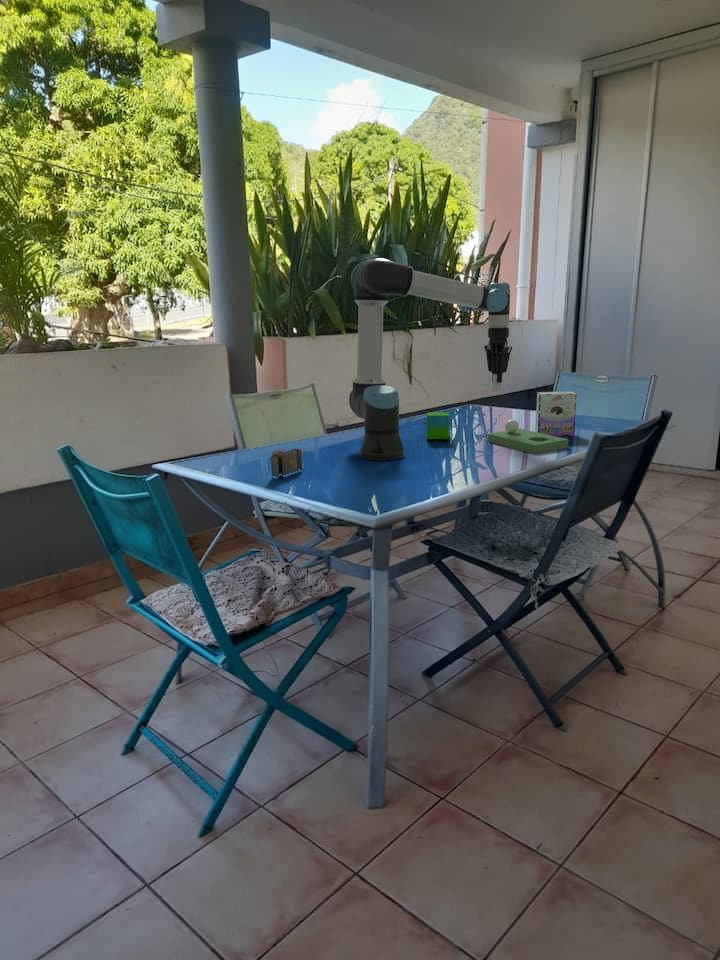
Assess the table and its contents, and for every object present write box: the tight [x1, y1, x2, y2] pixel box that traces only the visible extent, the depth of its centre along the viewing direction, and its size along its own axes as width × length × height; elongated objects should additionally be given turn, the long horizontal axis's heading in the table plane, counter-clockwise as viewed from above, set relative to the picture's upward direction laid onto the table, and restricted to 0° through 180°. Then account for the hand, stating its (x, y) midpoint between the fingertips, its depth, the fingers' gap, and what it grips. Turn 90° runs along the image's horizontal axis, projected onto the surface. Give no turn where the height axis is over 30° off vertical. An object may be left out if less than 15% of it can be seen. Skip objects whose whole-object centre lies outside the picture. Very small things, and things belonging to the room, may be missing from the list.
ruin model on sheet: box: [270, 448, 303, 478], centre depth 205 cm, size 11×3×10 cm, turn 145°
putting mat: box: [486, 428, 569, 454], centre depth 240 cm, size 16×24×3 cm, turn 30°
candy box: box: [534, 391, 577, 437], centre depth 252 cm, size 14×6×16 cm, turn 84°
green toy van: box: [424, 412, 452, 442], centre depth 253 cm, size 10×13×10 cm
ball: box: [504, 418, 520, 433], centre depth 245 cm, size 5×5×5 cm
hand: (496, 391), depth 250 cm, fingers closed
